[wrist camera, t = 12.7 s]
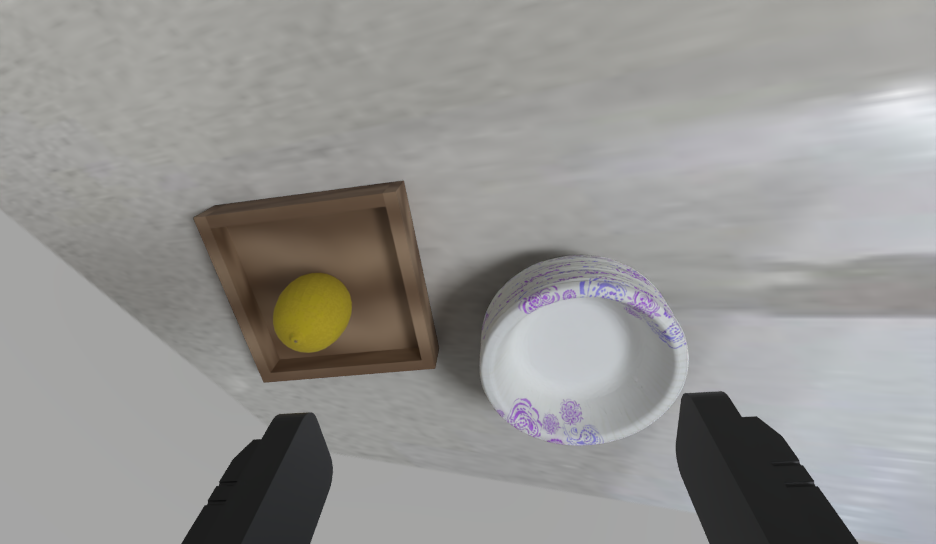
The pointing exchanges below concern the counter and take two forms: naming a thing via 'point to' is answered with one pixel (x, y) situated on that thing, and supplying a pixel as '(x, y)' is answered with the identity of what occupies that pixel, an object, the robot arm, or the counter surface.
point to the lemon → (312, 312)
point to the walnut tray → (335, 253)
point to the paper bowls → (581, 351)
